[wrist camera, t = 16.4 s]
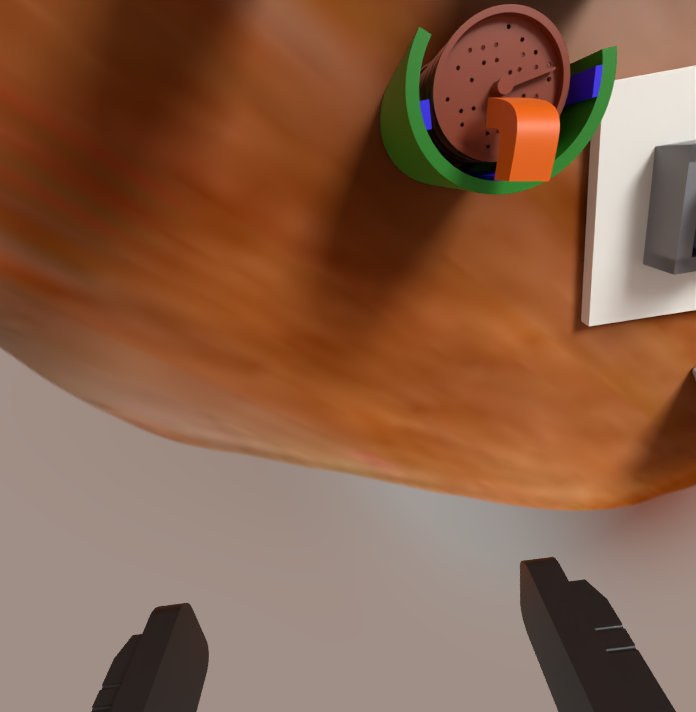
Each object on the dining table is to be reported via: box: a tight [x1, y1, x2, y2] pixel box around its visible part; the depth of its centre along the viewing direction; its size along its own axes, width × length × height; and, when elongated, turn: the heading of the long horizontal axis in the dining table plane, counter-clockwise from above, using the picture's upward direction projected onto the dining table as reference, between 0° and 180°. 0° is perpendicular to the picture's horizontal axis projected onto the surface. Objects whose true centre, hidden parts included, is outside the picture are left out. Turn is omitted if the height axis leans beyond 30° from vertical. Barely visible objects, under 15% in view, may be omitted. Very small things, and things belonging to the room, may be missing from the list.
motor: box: [380, 4, 617, 194], centre depth 27 cm, size 10×9×20 cm
